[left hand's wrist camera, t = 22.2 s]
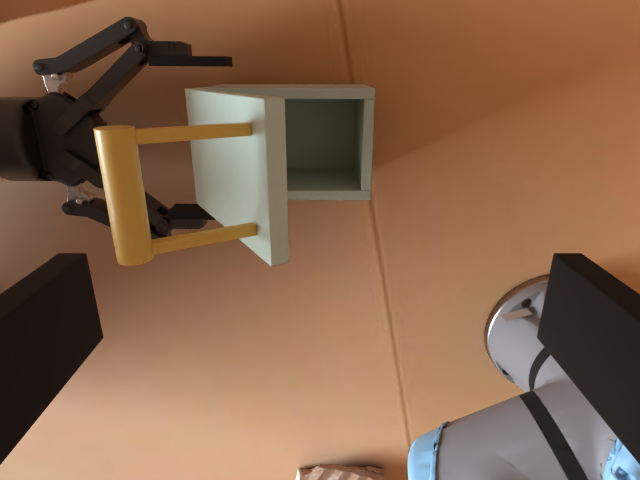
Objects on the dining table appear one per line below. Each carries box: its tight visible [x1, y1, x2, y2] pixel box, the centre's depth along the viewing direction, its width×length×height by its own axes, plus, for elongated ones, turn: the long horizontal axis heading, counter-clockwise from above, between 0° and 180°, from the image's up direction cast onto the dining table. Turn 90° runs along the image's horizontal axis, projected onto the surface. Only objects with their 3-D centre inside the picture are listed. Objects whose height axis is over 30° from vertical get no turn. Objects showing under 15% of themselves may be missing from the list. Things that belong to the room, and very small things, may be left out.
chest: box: [198, 84, 375, 200], centre depth 42 cm, size 14×9×10 cm, turn 90°
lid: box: [93, 88, 289, 266], centre depth 29 cm, size 15×9×9 cm
